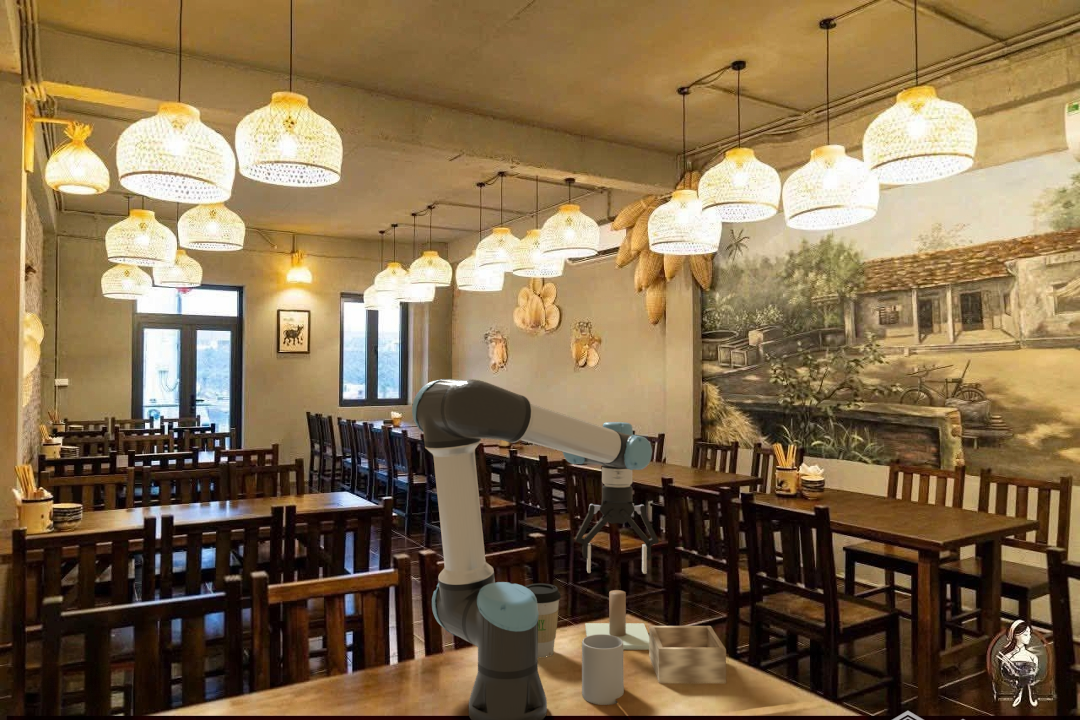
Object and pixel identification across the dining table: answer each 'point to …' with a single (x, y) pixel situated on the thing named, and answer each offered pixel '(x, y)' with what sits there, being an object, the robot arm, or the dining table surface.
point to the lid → (621, 625)
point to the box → (687, 654)
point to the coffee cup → (546, 616)
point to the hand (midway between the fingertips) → (616, 572)
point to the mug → (602, 669)
